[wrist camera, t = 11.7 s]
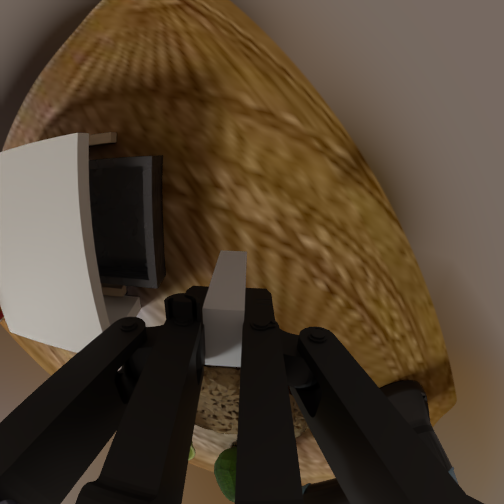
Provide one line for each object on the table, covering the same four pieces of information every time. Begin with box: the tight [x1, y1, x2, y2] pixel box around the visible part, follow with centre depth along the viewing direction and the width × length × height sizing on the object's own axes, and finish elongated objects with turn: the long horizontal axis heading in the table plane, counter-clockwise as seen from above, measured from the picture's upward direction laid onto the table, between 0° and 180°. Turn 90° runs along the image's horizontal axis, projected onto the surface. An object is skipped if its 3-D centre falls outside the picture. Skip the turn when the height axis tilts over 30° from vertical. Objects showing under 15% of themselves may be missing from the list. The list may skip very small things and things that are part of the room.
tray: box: [89, 155, 166, 288], centre depth 23 cm, size 16×12×3 cm
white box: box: [0, 132, 141, 353], centre depth 21 cm, size 14×19×9 cm
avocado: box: [214, 447, 237, 502], centre depth 34 cm, size 8×8×12 cm
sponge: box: [195, 366, 309, 438], centre depth 30 cm, size 13×8×20 cm
